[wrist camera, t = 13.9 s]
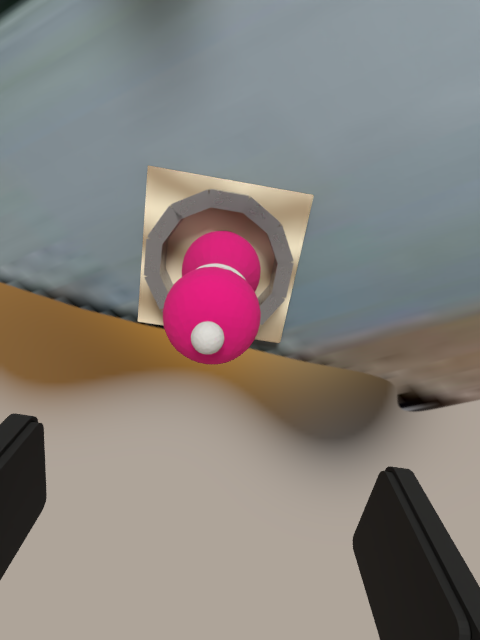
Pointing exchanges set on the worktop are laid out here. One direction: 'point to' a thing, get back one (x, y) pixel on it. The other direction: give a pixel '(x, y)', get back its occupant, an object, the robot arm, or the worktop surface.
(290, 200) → the birch board
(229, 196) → the steel ring collar
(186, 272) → the pepper mill
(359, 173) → the worktop surface
